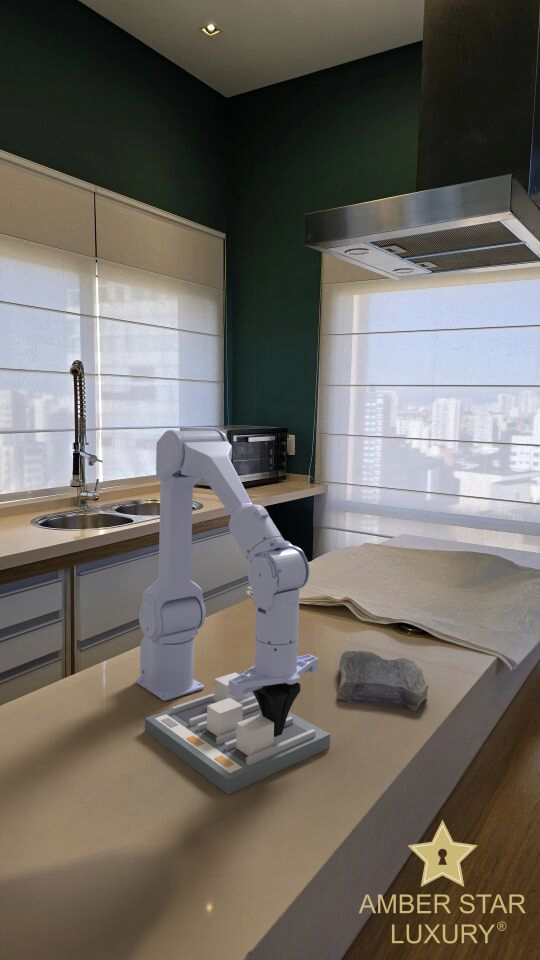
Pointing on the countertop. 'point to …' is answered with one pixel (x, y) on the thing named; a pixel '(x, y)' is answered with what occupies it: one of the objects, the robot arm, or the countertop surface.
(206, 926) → the countertop surface
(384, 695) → the grey rock
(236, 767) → the switch panel
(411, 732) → the countertop surface
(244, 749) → the tab right
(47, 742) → the countertop surface
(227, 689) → the tab left
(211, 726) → the tab middle
